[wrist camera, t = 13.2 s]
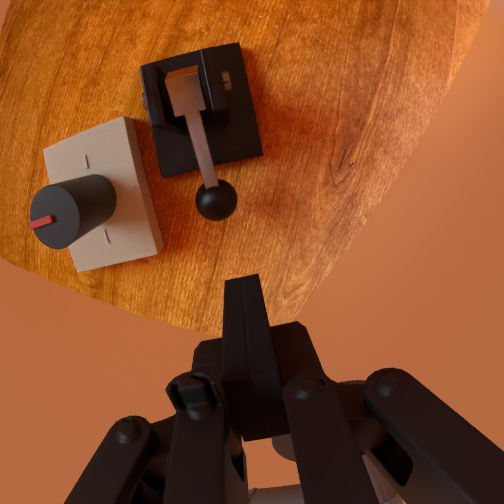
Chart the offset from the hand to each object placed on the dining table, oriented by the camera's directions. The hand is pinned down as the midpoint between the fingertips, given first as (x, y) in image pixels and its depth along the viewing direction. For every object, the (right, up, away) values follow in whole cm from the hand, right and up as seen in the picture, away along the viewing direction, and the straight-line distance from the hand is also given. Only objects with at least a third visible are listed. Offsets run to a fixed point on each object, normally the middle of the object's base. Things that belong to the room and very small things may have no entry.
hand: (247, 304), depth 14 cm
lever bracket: (-5, +16, +14) cm, 22 cm away
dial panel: (-15, +8, +16) cm, 24 cm away
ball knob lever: (-4, +11, +10) cm, 15 cm away
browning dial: (-15, +7, +13) cm, 21 cm away
